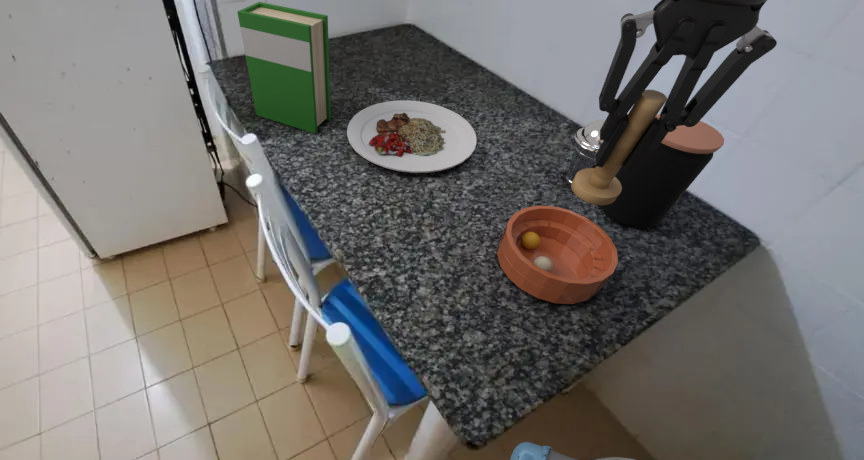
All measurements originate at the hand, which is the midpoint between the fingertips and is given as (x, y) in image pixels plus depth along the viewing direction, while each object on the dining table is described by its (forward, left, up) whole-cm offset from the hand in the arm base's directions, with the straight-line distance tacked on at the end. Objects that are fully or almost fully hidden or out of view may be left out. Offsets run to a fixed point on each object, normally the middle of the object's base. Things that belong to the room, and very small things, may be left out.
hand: (612, 163), depth 51 cm
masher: (+1, 0, -6) cm, 6 cm away
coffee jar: (+20, -13, -22) cm, 32 cm away
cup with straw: (+26, -4, -22) cm, 34 cm away
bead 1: (+2, +4, -19) cm, 20 cm away
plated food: (+28, +33, -22) cm, 48 cm away
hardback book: (+26, +63, -22) cm, 71 cm away
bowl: (0, +1, -21) cm, 21 cm away
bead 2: (-3, +2, -19) cm, 19 cm away
